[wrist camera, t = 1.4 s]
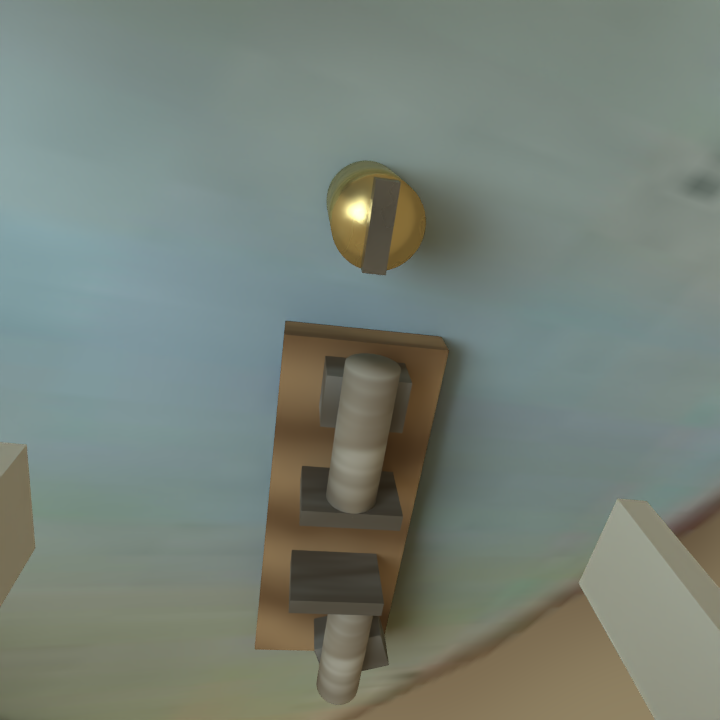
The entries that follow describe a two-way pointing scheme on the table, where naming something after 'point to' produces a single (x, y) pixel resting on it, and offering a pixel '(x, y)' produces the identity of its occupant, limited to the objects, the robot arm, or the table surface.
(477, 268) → the table surface
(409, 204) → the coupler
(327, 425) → the double roll holder
